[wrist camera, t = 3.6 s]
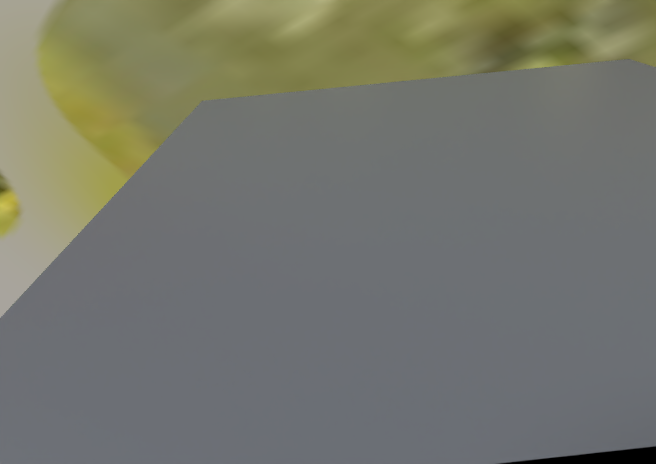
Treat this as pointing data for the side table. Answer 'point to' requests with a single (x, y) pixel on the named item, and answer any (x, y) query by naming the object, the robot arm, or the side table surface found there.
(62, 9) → the side table surface
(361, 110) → the grey block
